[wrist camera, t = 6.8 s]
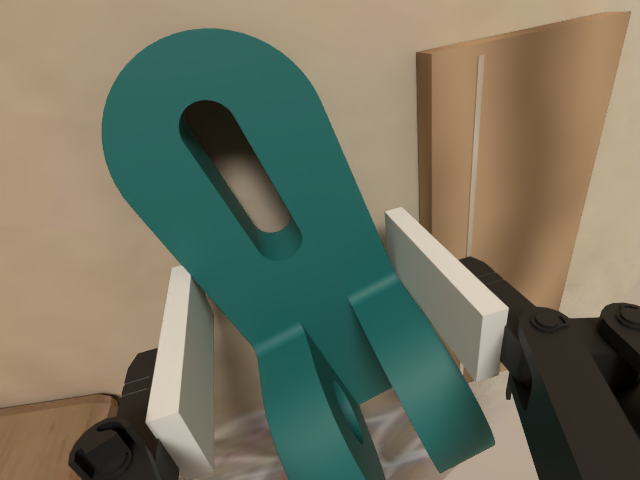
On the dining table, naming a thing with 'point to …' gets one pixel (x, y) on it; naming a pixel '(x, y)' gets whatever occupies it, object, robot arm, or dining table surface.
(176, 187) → the bracket
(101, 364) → the dining table surface
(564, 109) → the plank
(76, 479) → the block
